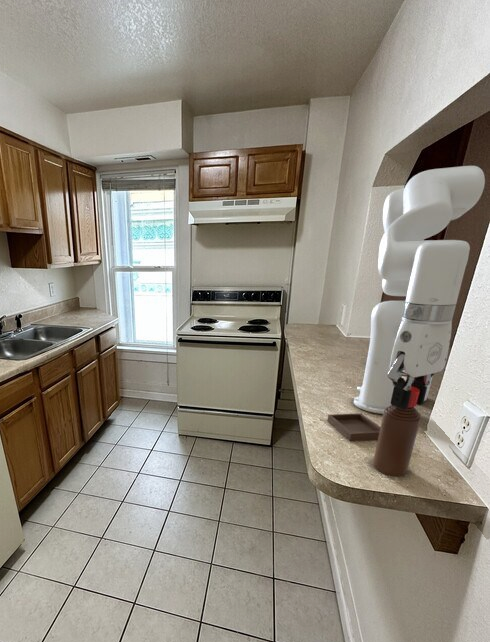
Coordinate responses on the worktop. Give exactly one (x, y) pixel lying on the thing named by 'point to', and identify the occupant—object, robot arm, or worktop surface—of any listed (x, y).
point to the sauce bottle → (396, 440)
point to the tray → (355, 426)
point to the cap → (413, 396)
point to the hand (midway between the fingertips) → (406, 403)
